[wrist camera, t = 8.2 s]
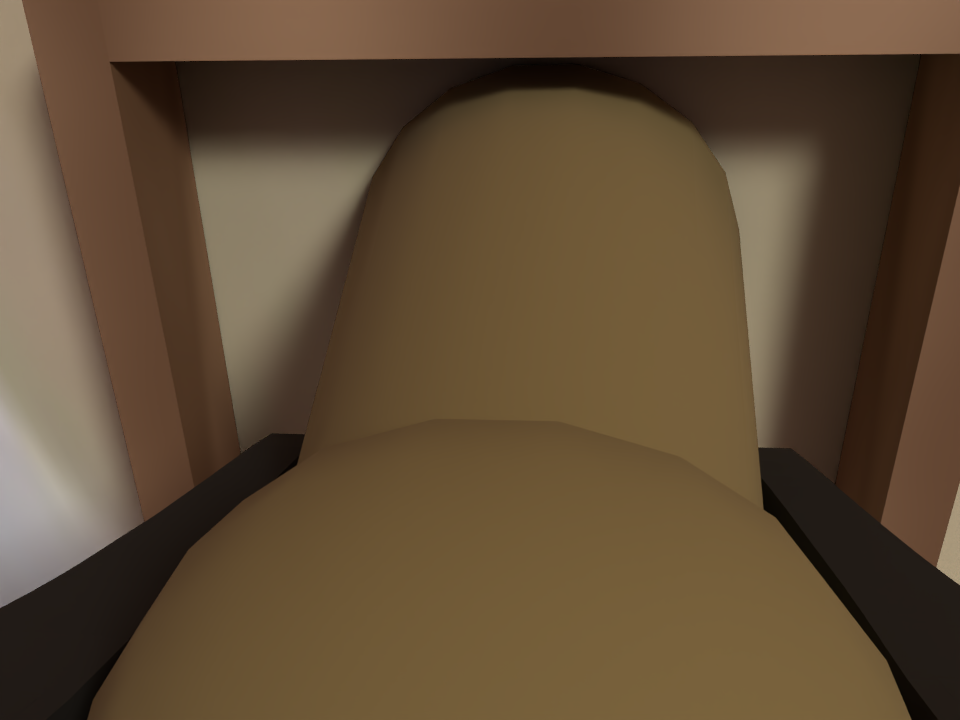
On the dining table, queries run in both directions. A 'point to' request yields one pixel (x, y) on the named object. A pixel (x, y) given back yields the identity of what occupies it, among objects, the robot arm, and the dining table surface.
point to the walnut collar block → (479, 34)
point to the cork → (519, 457)
